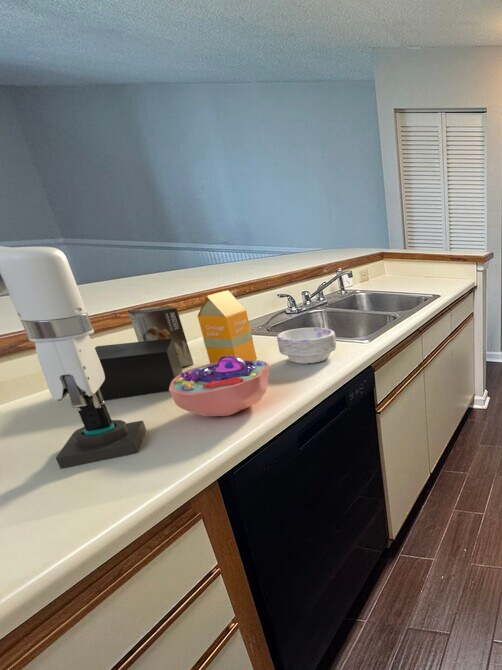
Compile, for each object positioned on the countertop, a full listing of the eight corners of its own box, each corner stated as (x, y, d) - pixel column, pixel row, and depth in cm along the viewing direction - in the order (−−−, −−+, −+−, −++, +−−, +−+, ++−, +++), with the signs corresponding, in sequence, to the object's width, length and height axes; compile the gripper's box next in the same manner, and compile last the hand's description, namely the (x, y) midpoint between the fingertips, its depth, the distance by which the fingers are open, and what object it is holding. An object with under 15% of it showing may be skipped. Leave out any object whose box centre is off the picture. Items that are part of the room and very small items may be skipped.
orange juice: (257, 358, 123) (242, 289, 116) (238, 369, 115) (221, 295, 108) (231, 357, 123) (214, 289, 116) (210, 368, 115) (190, 294, 108)
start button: (84, 443, 73) (80, 435, 72) (90, 434, 76) (86, 425, 76) (114, 438, 75) (111, 429, 74) (119, 428, 78) (116, 420, 77)
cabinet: (97, 401, 94) (81, 361, 91) (110, 383, 104) (96, 346, 101) (178, 389, 102) (166, 351, 98) (182, 373, 111) (172, 338, 108)
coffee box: (185, 360, 121) (169, 304, 115) (194, 364, 117) (178, 307, 111) (146, 368, 114) (126, 309, 108) (153, 373, 111) (134, 313, 105)
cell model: (154, 427, 84) (136, 374, 80) (229, 389, 102) (218, 344, 98) (230, 434, 82) (216, 380, 78) (294, 394, 100) (285, 348, 96)
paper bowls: (347, 352, 130) (343, 327, 127) (321, 369, 116) (317, 341, 113) (300, 349, 132) (296, 325, 129) (269, 366, 118) (264, 338, 115)
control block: (60, 469, 70) (51, 448, 69) (77, 442, 78) (69, 423, 76) (137, 453, 75) (130, 433, 74) (146, 430, 83) (140, 411, 81)
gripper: (43, 320, 72) (83, 415, 79) (6, 341, 60) (57, 452, 67) (101, 315, 76) (134, 407, 83) (77, 335, 64) (118, 440, 71)
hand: (99, 427), depth 75 cm, fingers closed
